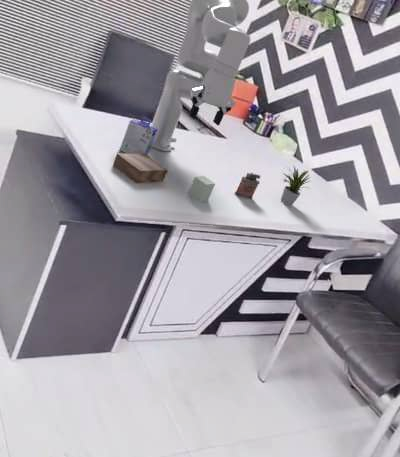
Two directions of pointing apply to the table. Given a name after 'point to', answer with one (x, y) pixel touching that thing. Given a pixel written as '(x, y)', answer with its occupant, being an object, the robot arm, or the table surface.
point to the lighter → (247, 186)
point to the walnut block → (140, 168)
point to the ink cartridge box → (138, 137)
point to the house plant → (293, 187)
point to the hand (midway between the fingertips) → (204, 120)
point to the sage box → (201, 188)
